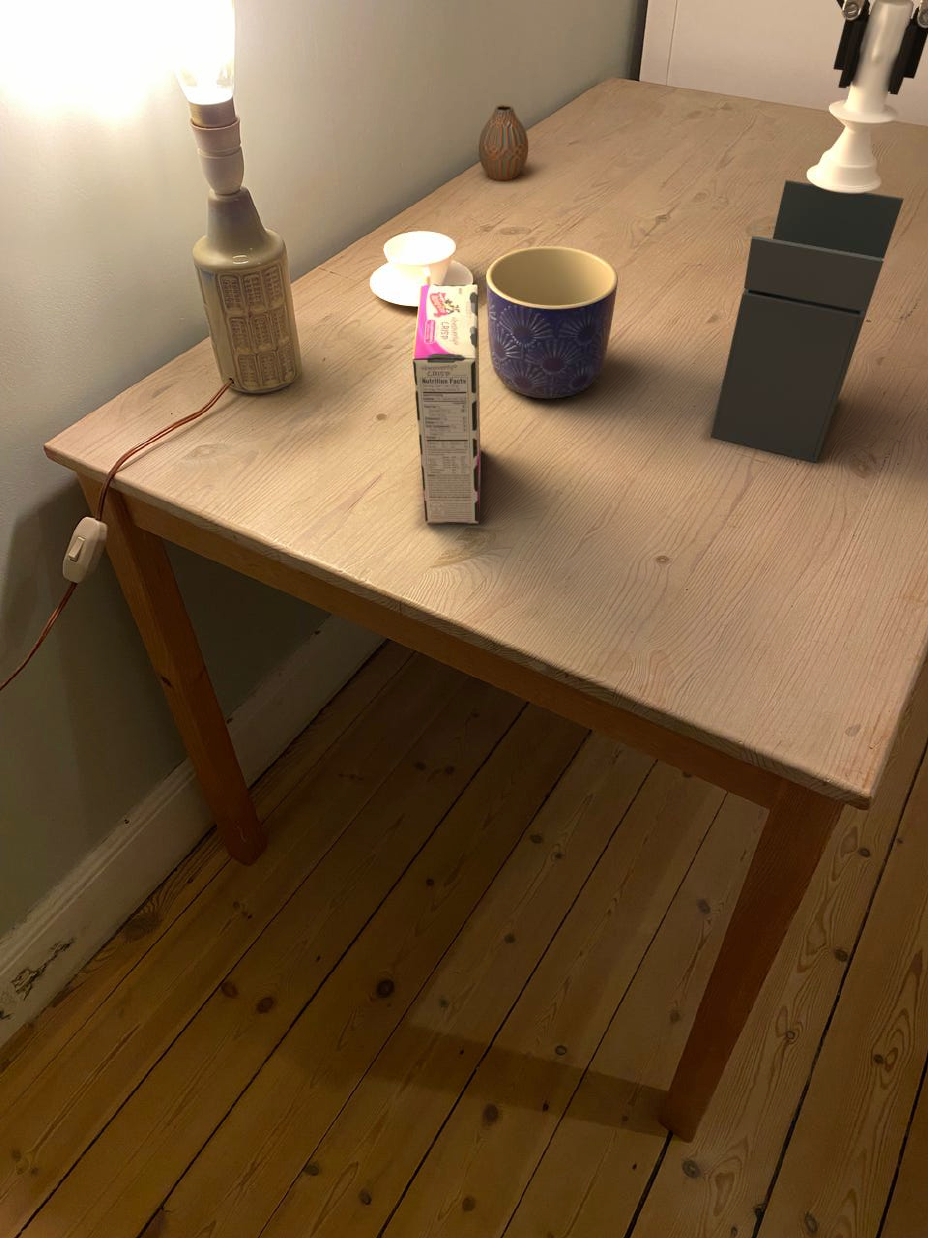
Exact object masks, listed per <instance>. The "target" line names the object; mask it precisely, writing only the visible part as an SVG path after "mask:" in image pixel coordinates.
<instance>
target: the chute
mask: <svg viewBox="0 0 928 1238" xmlns="http://www.w3.org/2000/svg"><path fill="white" fill-rule="evenodd" d="M904 199H905V198H904V197H897V196H892V195H883V194H877V193H871V192H866V193H857V194H849V193H839V192H833V191H829V190H826V189H823V188H820V187H818V186H816V185H814V184H813V183H808V182H801V181H794V180H787V179H786V180H785V182H784V185H783V189H782V194H781V199H780V203H779V208H778V212H777V217H776V221H775V222H776V223H775V225H774V230H773V235H772V239H774V240H780V241H785V242H791V243H797V244H802V245H808V246H814V247H819V248H825V249H831V250H836V251H842V252H848V253H853V254H859V255H865V256H870V257H876V258H882V259H883V260H882V263H881V266H880V269H879V272H878V275H877V278H876V281H875V284H874V288H873V291H872V294H871V297H870V300H869V303H868V306H867V309H866V312H863V311H858V310H853V309H848V308H843V307H838V306H833V305H828V304H822V303H817V302H812V301H807V300H802V299H797V298H792V297H786V296H781V295H776V294H771V293H766V292H761V291H756V290H750V289H745V288H744V290H743V292H742V294H741V298H740V302H739V306H738V311H737V315H736V321H735V325H734V329H733V334H732V338H731V343H730V347H729V351H728V357H727V361H726V365H725V370H724V376H723V379H722V382H721V383H722V384H721V387H720V392H719V397H718V398H719V399H718V402H717V406H716V410H715V416H714V419H713V424H712V427H711V428H712V429H711V434H710V438H713V439H717V440H720V441H724V442H725V441H726V442H730V443H733V444H737V445H740V446H741V445H742V446H745V447H749V448H753V449H758V450H761V451H766V452H769V453H773V454H777V455H782V456H785V457H790V458H794V459H797V460H802V461H806V462H811V463H814V464H817V461H818V460H819V455H820V453H821V450H822V448H823V444H824V442H825V438H826V435H827V433H828V429H829V426H830V424H831V420H832V419H833V415H834V412H835V409H836V406H837V403H838V401H839V397H840V394H841V391H842V388H843V385H844V382H845V379H846V376H847V374H848V371H849V368H850V364H851V361H852V358H853V355H854V352H855V349H856V346H857V343H858V340H859V337H860V334H861V330H862V329H863V325H864V322H865V319H866V316H867V313H868V310H869V307H870V305H871V301H872V297H873V295H874V291H875V288H876V286H877V283H878V279H879V276H880V274H881V270H882V268H883V265H884V262H885V261H884V259H885V256H886V254H887V250H888V248H889V245H890V242H891V239H892V235H893V232H894V230H895V227H896V224H897V221H898V218H899V215H900V211H901V208H902V205H903V202H904Z"/></svg>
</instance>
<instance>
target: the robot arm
mask: <svg viewBox="0 0 928 1238" xmlns="http://www.w3.org/2000/svg"><path fill="white" fill-rule="evenodd" d="M836 3H837V4H838V6H839V8H840V9H841V14H842V17H843V19H845V20H844V22H843V24H844V25H843V26H842V27H843V28H842V32H841V36H840V39H839V43H838V48H837V51H836V55H835V59H834V63H833V70H836V71H841V74H840V79H839V82H838V87H837V88H838V89H847V88H848V87H849V88H851V85H852V81H853V78H854V74H855V70H856V67H857V63H858V60H859V56H860V48H861V44H862V40H863V37H864V33H865V30H866V26H867V22H868V18H869V15H870V9H871V3H870V1H869V0H836ZM927 39H928V0H920V4H919V5H918V7H916V9H915V10H914V12H913V14H912V17H911V19H910V23H909V25H908V26H907V27H906V29H905V32H904V36H903V39H902V43H901V46H900V49H899V53H898V56H897V60H896V63H895V67H894V70H893V73H892V77H891V80H890V84H889V87H888V93H889V95H896V96H898V94H899V93H900V90H901V88H902V86H903V82H904V79H912V80H913V79H914V80H915V77H916V74H917V72H918V68H919V65H920V62H921V58H922V55H923V52H924V49H925V46H926V42H927Z"/></svg>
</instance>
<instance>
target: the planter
mask: <svg viewBox="0 0 928 1238" xmlns="http://www.w3.org/2000/svg"><path fill="white" fill-rule="evenodd" d="M485 278H486V279H485V280H486V304H487V305H486V306H487V307H486V308H487V309H486V310H487V333H488V347H489V354H490V355H489V356H490V361H491V365H492V368H493V371H494V373H495V375H496V377H497V378H498V379H499V380H500V382H502V384H503V385H505V386H506V387H508V388H509V389H511V390H512V391H514V392H516V393H518V394H521V395H524V396H526V397H530V398H536V399H537V398H538V399H559V398H565V397H570V396H572V395H576V394H578V393H580V392H581V391H583V390H585V389H587V388H589V387H590V385H592V384H593V383H594V382H595V381H596V379H597V378H598V376H599V375H600V373H601V371H602V368H603V366H604V362H605V359H606V356H607V351H608V347H609V342H610V341H609V340H610V336H611V329H612V322H613V317H614V310H615V304H616V297H617V289H618V285H619V284H618V283H619V275H618V273H617V270H616V268H615V267H614V266H613V265H612V264H611V263H610V262H608V261H607V260H606V259H604V258H603V257H601V256H599V255H597V254H595V253H593V252H590V251H587V250H583V249H580V248H575V247H570V246H559V245H541V246H530V247H525V248H520V249H516V250H513V251H511V252H508V253H506V254H504V255H502V256H499V258H497V259H496V260H495V261H493V262H492V263H491V265H490V266H489V267H488V269H487V271H486V277H485Z"/></svg>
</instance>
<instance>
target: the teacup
mask: <svg viewBox="0 0 928 1238" xmlns="http://www.w3.org/2000/svg"><path fill="white" fill-rule="evenodd" d="M383 247H384V248H383V252H384V255H385V257H386V259H387V261H388V262H387V263H386V264H384V265H382V266H380V267H379V268H377V269H376V270H375V271H374V272H373V274H372V275H371V277H370V278H369V286H370V289H371V290H372V292H373V293H374V294H375V295H376V296H377V297H379V299H382V300H384V301H385V302H389V303H392V304H396V305H400V306H407V307H418V305H419V292H420V286H424V285H432V284H436V285H439V286H441V285H474V284H473V283H474V277H473V273H472V272H471V271H470V269H469V268H468V267H466V266H465V265H464V264H462V263H460V262H458V261H456V260H453V258H454V256H455V253H456V250H457V244H456V243H455V241H454V240H453V239H452V238H451V237H449V236H447V235H446V234H442V233H438V232H433V231H410V232H406V233H401V234H399V235H396V236H394V237H391V239H389V240H388V241H387V242H386V243H384V246H383Z"/></svg>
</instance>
